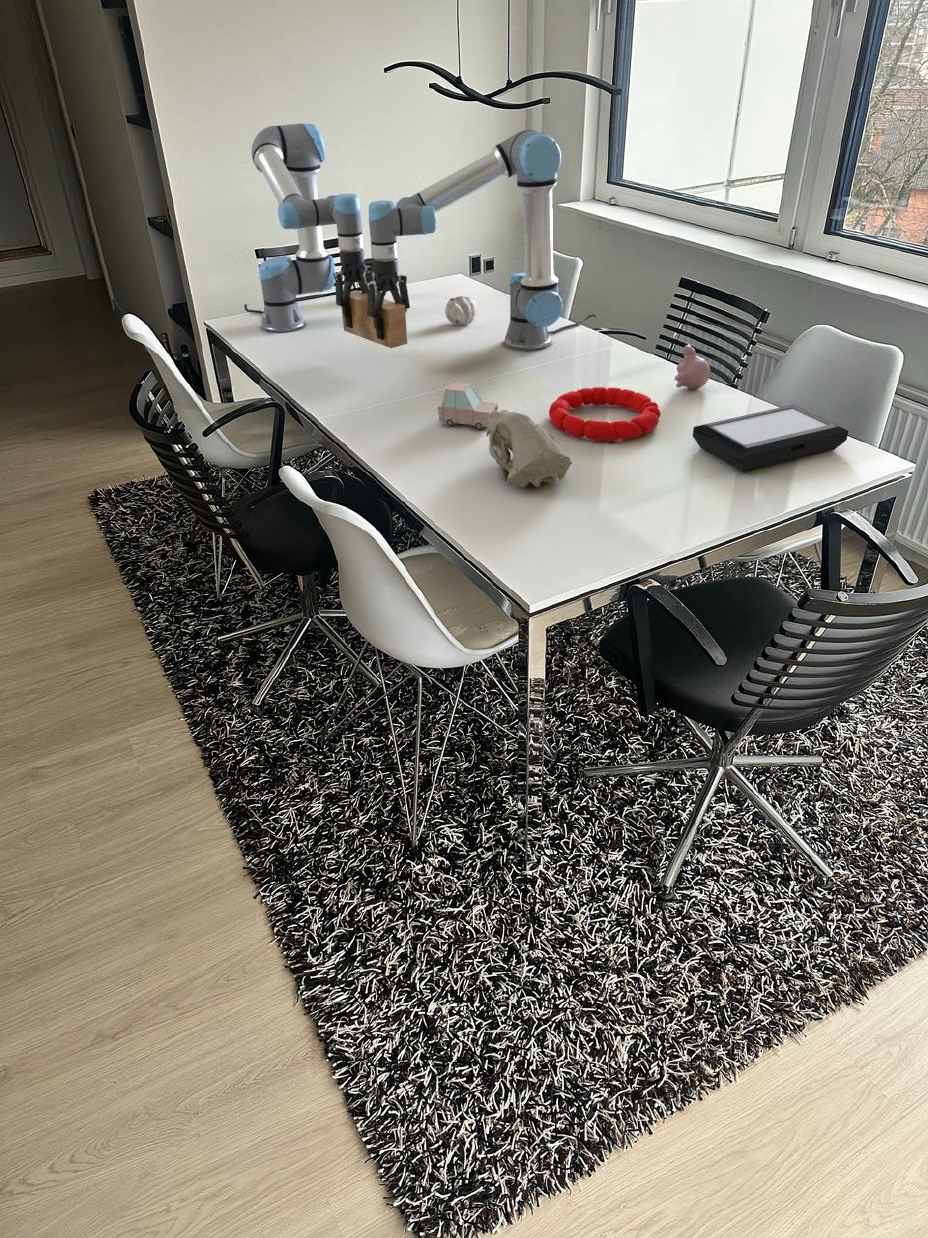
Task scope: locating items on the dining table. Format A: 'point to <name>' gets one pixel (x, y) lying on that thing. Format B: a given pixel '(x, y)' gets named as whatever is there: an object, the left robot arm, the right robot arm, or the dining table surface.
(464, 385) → the toy car
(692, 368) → the figurine
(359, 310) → the box
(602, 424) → the decorative ring
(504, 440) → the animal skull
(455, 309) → the seashell
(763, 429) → the electronic device
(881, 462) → the dining table surface
